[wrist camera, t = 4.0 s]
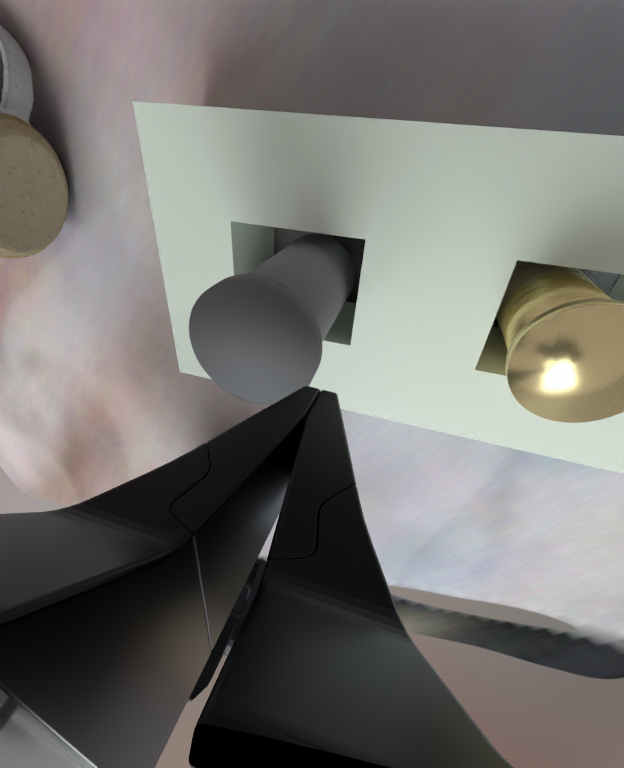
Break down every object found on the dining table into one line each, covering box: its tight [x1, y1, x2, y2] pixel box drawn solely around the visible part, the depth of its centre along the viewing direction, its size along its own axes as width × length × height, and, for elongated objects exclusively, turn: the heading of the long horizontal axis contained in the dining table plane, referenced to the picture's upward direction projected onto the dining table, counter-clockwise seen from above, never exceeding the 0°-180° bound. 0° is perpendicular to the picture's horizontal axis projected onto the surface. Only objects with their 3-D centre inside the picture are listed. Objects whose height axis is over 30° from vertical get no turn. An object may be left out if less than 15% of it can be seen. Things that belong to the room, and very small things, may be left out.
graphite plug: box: [189, 234, 355, 405], centre depth 14 cm, size 4×4×8 cm
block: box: [132, 101, 624, 474], centre depth 16 cm, size 12×24×5 cm, turn 86°
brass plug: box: [496, 260, 624, 423], centre depth 14 cm, size 4×4×8 cm
